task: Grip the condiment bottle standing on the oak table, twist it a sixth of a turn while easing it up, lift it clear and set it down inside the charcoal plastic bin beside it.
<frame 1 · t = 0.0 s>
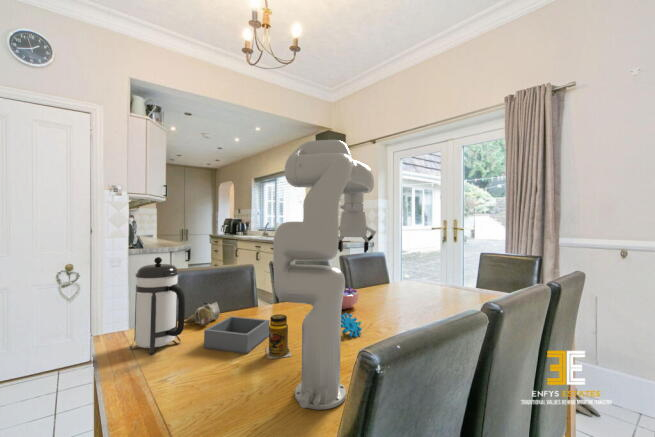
hand: (353, 252, 119), 31 cm above the table, fingers open, 9 cm apart
bin: (238, 341, 107), on the table
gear: (351, 335, 116), on the table
coffee press: (159, 347, 102), on the table
ceramic sculpture: (204, 324, 127), on the table
cell model: (341, 308, 153), on the table
condiment: (278, 353, 99), on the table
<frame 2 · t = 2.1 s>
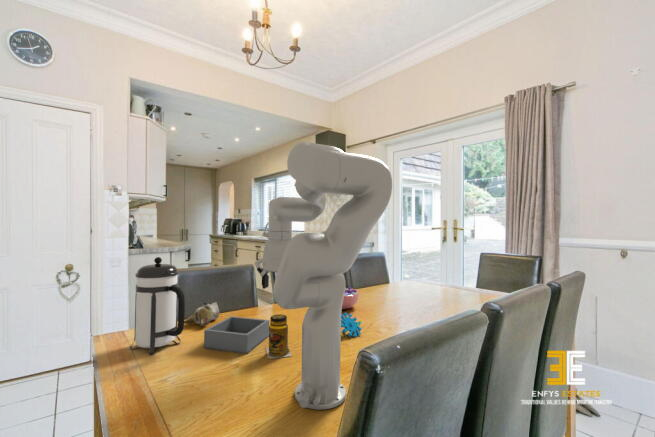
hand: (278, 288, 100), 20 cm above the table, fingers open, 9 cm apart
nothing on the table moved.
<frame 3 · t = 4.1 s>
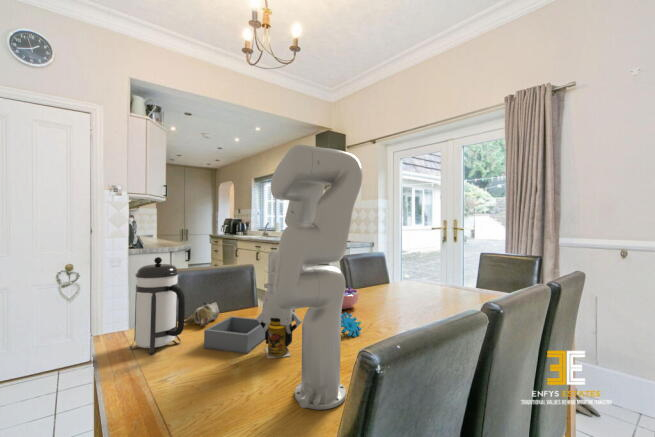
hand: (278, 343, 99), 3 cm above the table, fingers closed on condiment, 6 cm apart
condiment: (277, 352, 99), on the table, touching gripper
everything else where it was.
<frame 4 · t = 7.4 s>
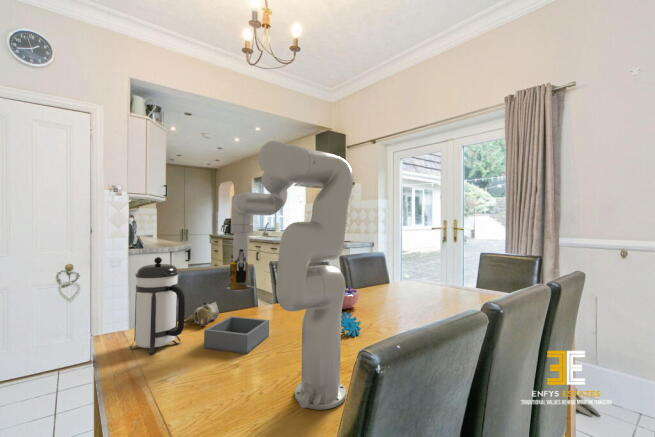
hand: (241, 280, 107), 22 cm above the table, fingers closed on condiment, 6 cm apart
condiment: (240, 288, 107), point 19 cm above the table, touching gripper
everything else where it was.
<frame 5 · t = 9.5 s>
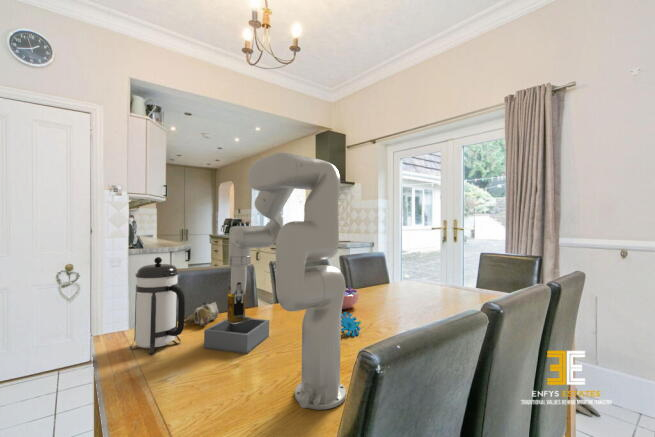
hand: (238, 311, 107), 11 cm above the table, fingers closed on condiment, 6 cm apart
condiment: (238, 320, 108), point 7 cm above the table, touching gripper
everything else where it was.
when the fingers open (6 cm above the table, at t = 11.0 s): condiment drops 2 cm, resting on bin.
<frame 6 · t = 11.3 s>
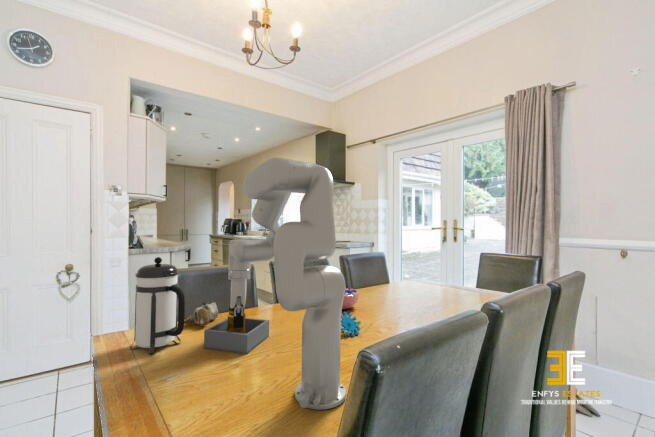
hand: (238, 323, 107), 7 cm above the table, fingers open, 9 cm apart
condiment: (238, 340, 107), resting on bin
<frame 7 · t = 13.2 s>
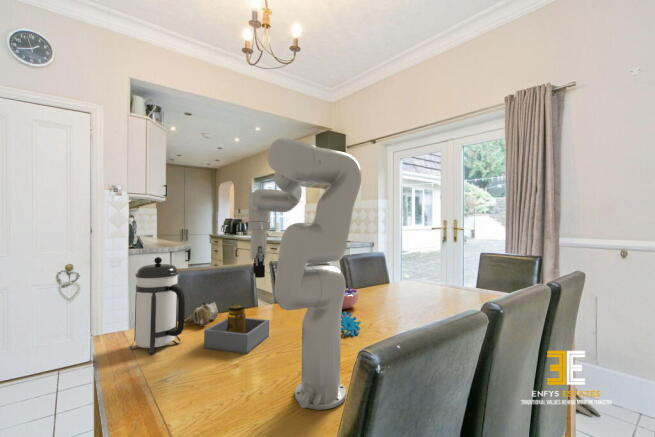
hand: (258, 275, 107), 24 cm above the table, fingers open, 9 cm apart
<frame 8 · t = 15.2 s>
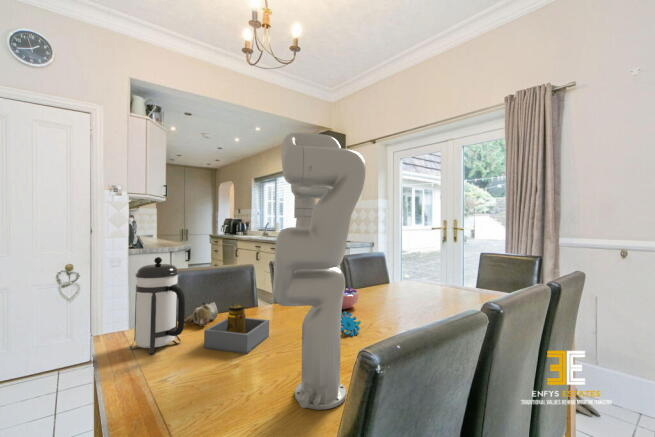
hand: (304, 262, 108), 28 cm above the table, fingers open, 9 cm apart
at the end: condiment inside the target area on the bin (0.2 cm from its centre), point 0.4 cm above the bin's base; the gripper is holding nothing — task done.
